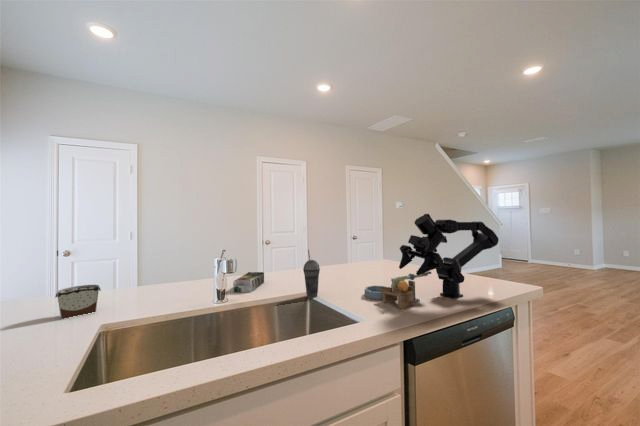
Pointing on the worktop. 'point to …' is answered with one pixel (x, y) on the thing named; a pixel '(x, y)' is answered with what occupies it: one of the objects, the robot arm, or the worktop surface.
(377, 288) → the bowl
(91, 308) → the food container
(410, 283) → the lever post
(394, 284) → the lever
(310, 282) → the beverage cup
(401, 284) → the ball
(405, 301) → the ramp
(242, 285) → the juice carton
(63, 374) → the worktop surface
